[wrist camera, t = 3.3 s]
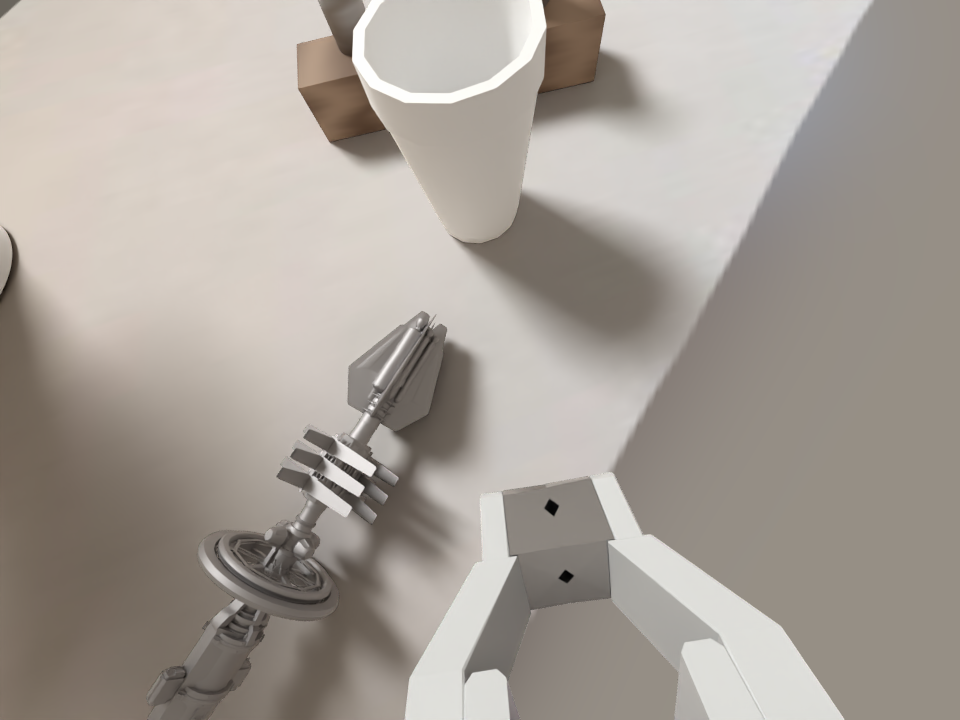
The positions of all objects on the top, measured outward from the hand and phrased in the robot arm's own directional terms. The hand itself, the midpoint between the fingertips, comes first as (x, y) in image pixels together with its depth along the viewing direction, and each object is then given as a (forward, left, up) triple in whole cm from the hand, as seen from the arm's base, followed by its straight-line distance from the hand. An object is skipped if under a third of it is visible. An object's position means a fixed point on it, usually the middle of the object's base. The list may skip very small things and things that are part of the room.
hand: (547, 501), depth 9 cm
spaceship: (-15, -2, -16) cm, 22 cm away
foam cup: (0, +21, -16) cm, 27 cm away
